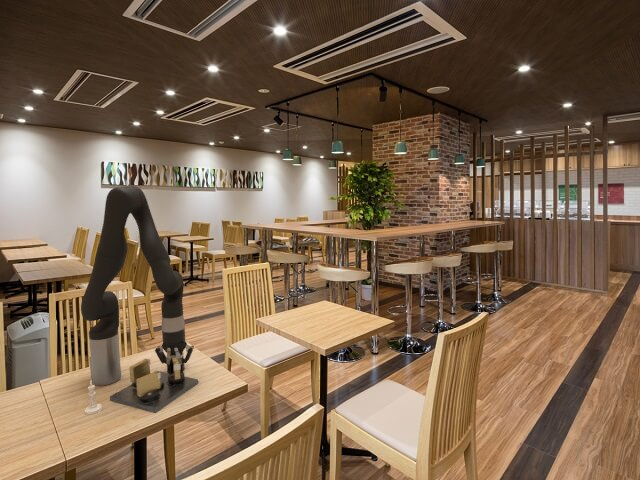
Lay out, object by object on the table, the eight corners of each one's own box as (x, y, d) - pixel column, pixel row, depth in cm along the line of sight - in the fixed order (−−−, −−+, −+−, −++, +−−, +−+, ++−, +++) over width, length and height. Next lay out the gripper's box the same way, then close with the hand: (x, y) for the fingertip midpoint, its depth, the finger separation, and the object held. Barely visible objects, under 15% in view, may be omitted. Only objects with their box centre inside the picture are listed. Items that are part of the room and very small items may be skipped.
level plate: (109, 400, 124) (108, 392, 124) (155, 374, 143) (155, 367, 142) (155, 412, 116) (155, 404, 116) (198, 383, 135) (198, 376, 135)
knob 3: (166, 378, 135) (165, 358, 134) (182, 374, 138) (181, 355, 137) (169, 386, 129) (168, 366, 128) (186, 382, 132) (185, 362, 131)
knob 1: (138, 389, 128) (137, 368, 127) (126, 386, 130) (125, 366, 129) (155, 379, 134) (153, 360, 133) (143, 377, 136) (142, 357, 135)
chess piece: (83, 416, 115) (80, 385, 114) (85, 408, 119) (82, 379, 118) (101, 411, 117) (99, 382, 116) (102, 404, 122) (100, 375, 121)
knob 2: (144, 404, 118) (142, 382, 117) (134, 399, 121) (133, 377, 120) (164, 394, 124) (163, 373, 123) (154, 390, 127) (153, 369, 126)
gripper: (148, 331, 127) (152, 379, 129) (189, 331, 128) (192, 378, 130) (157, 324, 135) (160, 369, 137) (196, 323, 135) (198, 368, 137)
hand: (176, 373), depth 133 cm, fingers closed on knob 3, 3 cm apart
